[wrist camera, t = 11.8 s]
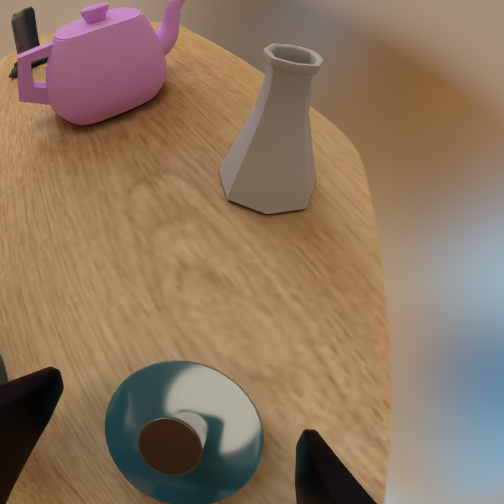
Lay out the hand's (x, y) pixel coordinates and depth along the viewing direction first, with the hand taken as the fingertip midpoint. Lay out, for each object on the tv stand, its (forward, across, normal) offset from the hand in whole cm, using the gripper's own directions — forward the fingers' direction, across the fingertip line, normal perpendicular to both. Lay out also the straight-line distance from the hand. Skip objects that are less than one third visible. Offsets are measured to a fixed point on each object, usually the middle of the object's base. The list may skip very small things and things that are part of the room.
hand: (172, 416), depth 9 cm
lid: (+2, 0, +4) cm, 5 cm away
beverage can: (+31, +43, -24) cm, 58 cm away
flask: (+15, -2, -8) cm, 17 cm away
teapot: (+22, +16, -15) cm, 31 cm away
